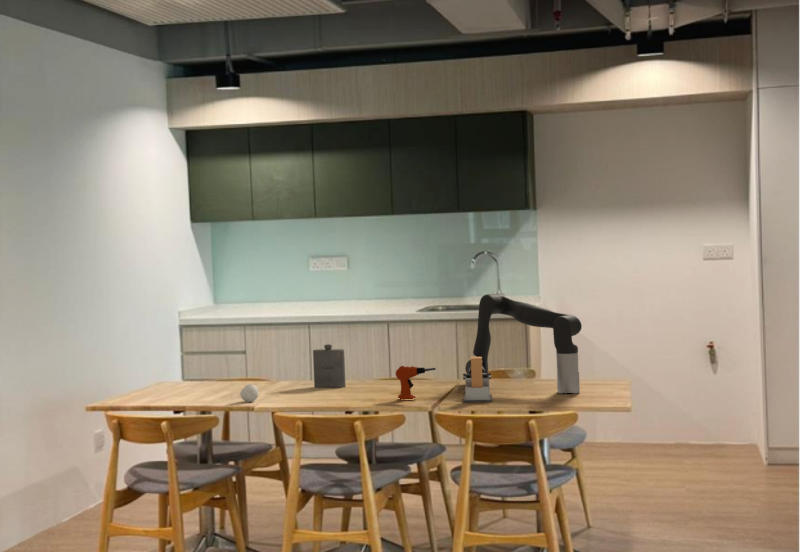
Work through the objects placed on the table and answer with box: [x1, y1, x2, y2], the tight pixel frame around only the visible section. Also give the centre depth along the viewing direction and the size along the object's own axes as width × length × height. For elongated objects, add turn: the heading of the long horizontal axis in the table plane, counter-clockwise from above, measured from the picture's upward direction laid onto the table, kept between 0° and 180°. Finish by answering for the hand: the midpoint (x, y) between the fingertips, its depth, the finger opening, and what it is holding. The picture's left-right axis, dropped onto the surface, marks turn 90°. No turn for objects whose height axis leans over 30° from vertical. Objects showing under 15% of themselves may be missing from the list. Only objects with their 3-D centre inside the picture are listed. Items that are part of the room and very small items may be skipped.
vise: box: [462, 386, 493, 404], centre depth 449 cm, size 12×14×6 cm
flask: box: [312, 343, 346, 389], centre depth 499 cm, size 15×6×20 cm, turn 78°
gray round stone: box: [239, 383, 259, 403], centre depth 464 cm, size 8×8×8 cm
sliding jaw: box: [464, 378, 490, 388], centre depth 454 cm, size 10×3×7 cm, turn 86°
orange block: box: [470, 356, 483, 387], centre depth 448 cm, size 4×4×17 cm
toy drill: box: [395, 365, 437, 399], centre depth 454 cm, size 5×19×15 cm, turn 70°
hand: (477, 379), depth 460 cm, fingers closed
